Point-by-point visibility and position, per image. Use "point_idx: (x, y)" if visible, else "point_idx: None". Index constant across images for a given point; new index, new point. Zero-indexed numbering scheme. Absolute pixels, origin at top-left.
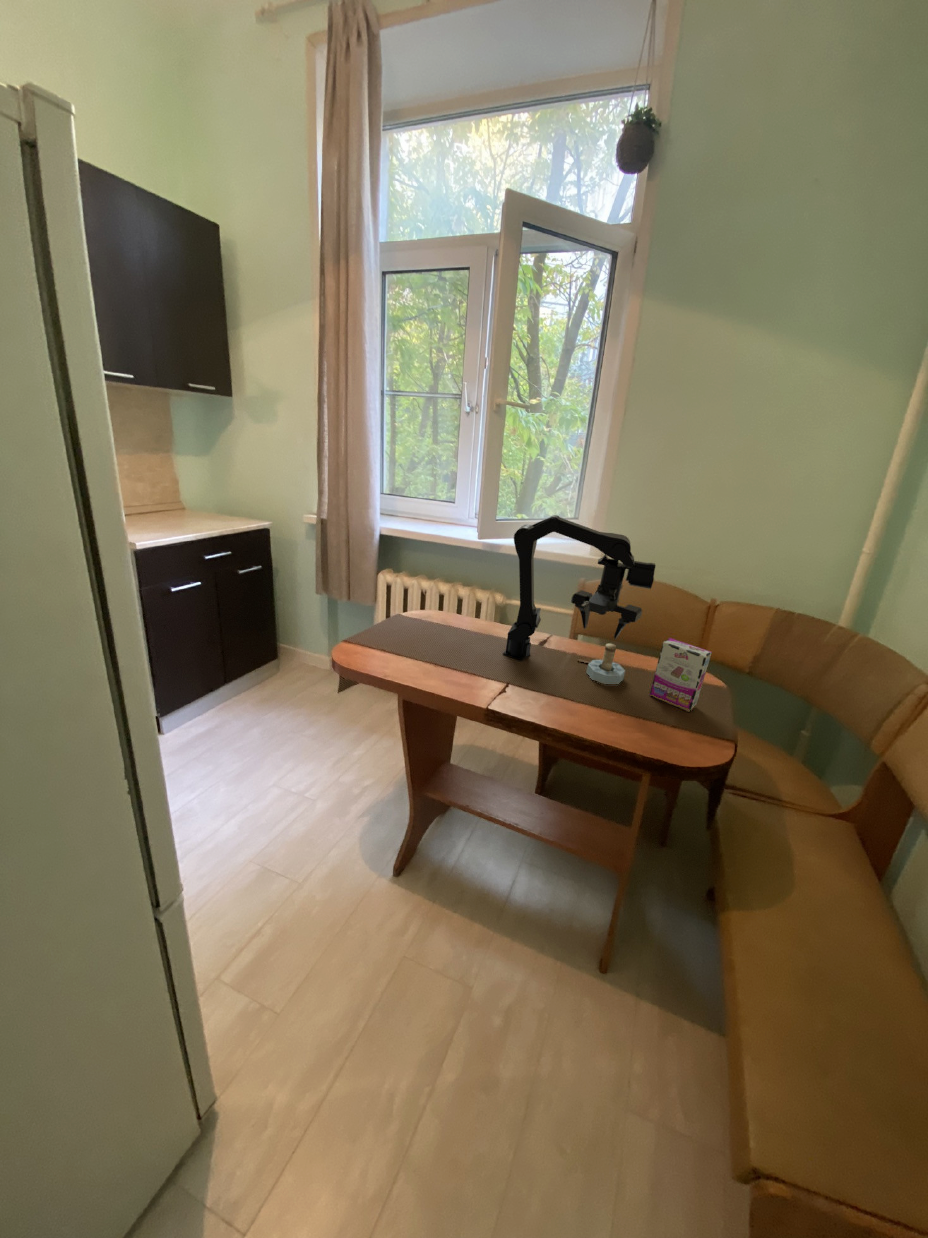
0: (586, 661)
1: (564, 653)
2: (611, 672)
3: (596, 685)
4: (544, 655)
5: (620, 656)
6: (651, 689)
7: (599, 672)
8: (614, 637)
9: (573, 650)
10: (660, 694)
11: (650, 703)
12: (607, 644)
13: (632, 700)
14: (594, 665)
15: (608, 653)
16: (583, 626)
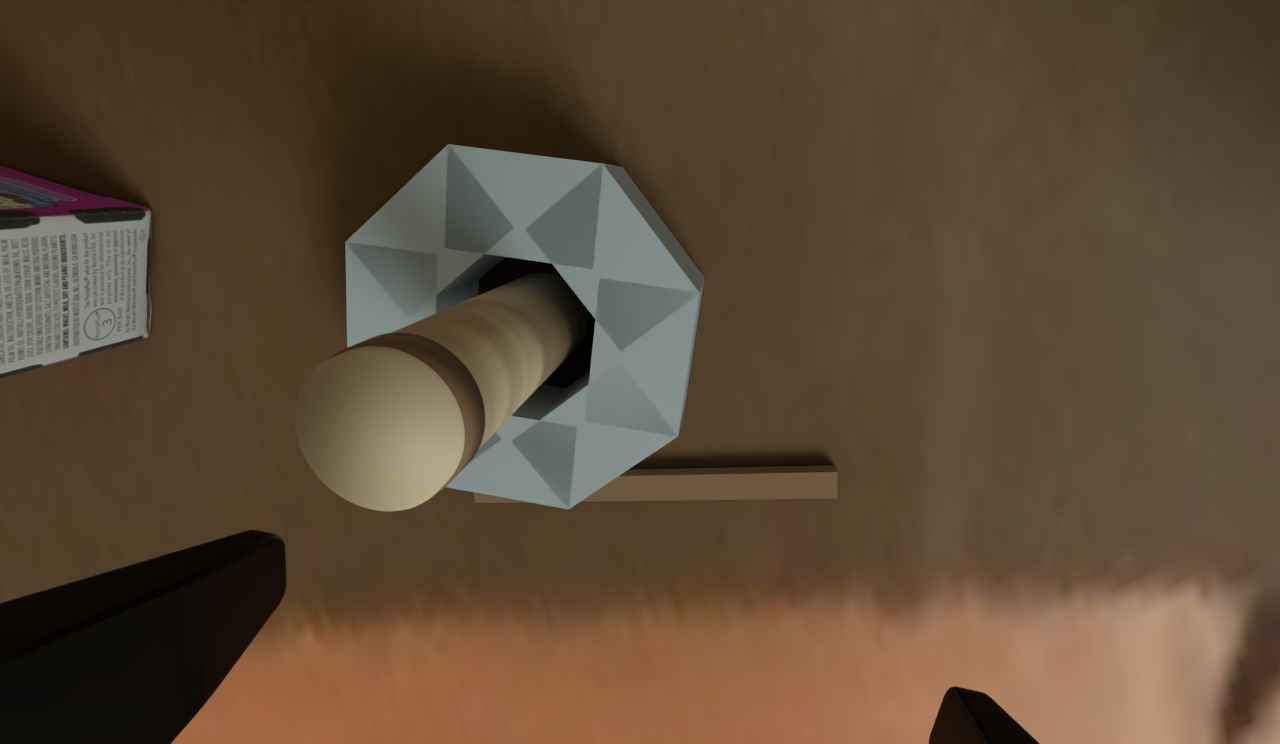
0: (756, 490)
1: (992, 559)
2: (437, 257)
3: (556, 93)
4: (1198, 408)
5: (537, 736)
6: (89, 210)
7: (538, 171)
8: (248, 540)
9: (920, 658)
10: (19, 182)
11: (102, 81)
12: (433, 444)
13: (220, 26)
14: (631, 309)
15: (422, 327)
16: (1011, 719)
